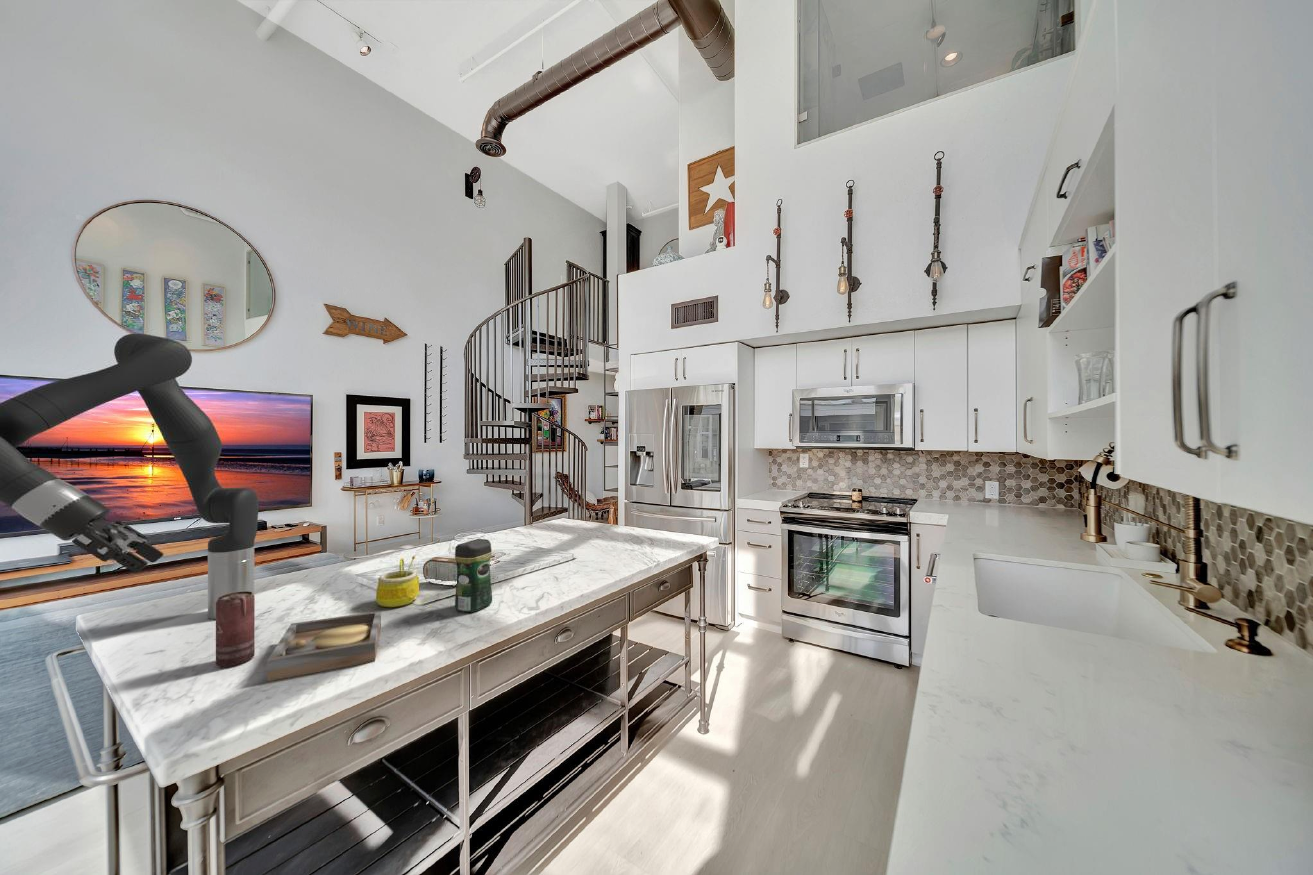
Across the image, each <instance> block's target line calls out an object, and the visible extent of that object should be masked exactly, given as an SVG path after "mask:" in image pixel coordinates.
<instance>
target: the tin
mask: <svg viewBox="0 0 1313 875" xmlns="http://www.w3.org/2000/svg"><path fill="white" fill-rule="evenodd" d="M422 573H423V577H424V579H425V580H426V579H435V580H441V581H455V582H456V581H457V563H456V560H455V557H454V558H452V557H451V558H450V557H442V556H441V557H440V556H435V557H432V558H430V559H428V560H427V561H426V562H424V563H423V566H422Z"/></svg>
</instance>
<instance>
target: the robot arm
mask: <svg viewBox="0 0 1313 875" xmlns="http://www.w3.org/2000/svg"><path fill="white" fill-rule="evenodd" d="M113 352H114V353H113V354H114V357H115V361H116V364H114V365H111V366H108V367H106V368H103V369H100V370H96V371H93V372H89V373H85V374H81V375H76V376H73V377H67V378H64V379H60V380H57V381H52V382H49V383H46V384H43V385H40V386H37V387H35V388H32V389H29V390H28V391H25V392H22V393H21V394H17V395H15V396H13V397H10V398H8V399H6V400H4V401H1V402H0V502H1V503H3V504H4V505H7V506H8V507H9V508H12V510H14V511H16V512H17V513H18V514H19V515H21V516H22V517H23V518H25V519H27V521H30V522H32V523H33V524H35V525H36V526H38V527H39V528H42V529H43V530H45V531H46V532H48V533H50V534H51V535H53V536H55V537H57V538H59V539H60V540H62V541H67V542H68V541H71V543H72V544H74V545H76V546H77V547H80V548H81V549H83V550H84V551H85V552H87V553H89V554H91V555H92V556H93V557H95V558H97V559H99V560H100V561H101V562H105V563H106V562H108V561H109V562H114V563H115V562H116V563H117V564H119V565H121V567H124V568H126V569H128V570H129V571H131V572H132V573H139V572H141V570H143V569H144V568H145V567H146V566H148V563H149V562H150V563H155V562H157V561H159V559H162V557H163V556H164V552H162V551H160V550H159V549H158V548H156V547H154V546H152V545H151V544H150V543H148V540H147V539H148V536H146V535H145V534H143V533H141V532H140V531H138V530H137V529H134V528H133V527H131V526H130V525H129V524H127V523H124V522H123V521H122V520H119V519H117V520H115V521H113V522H110V521H108V520H106V519H105V518H106V517H108V516H109V515H110V513H111V512H112V511H111V508H109V507H108V506H106V505H105V504H104V503H101V502H99V501H98V500H97V499H95V498H93V497H92V496H91V495H89V494H87V493H85V491H83V490H81V489H80V488H78V487H77V486H75V485H73V484H71V483H69V482H66V481H64V480H62V479H61V478H58V477H57V476H55V475H54V474H53V473H51V472H50V471H48V470H46V469H45V468H44V467H41V466H40V465H38V464H36V463H34V462H32V461H31V460H29V459H28V458H27V457H26V456H24V454H23V453H21V452H20V451H19V450H18V449H17V448H18V447H19V446H21V445H22V444H24V443H25V442H27V441H29V440H30V439H31V438H33V437H35V436H37V435H40V434H41V433H44V432H46V431H48V430H50V429H53V428H55V427H57V426H59V425H61V424H62V423H65V422H67V421H68V420H71V419H73V418H75V417H78V416H79V415H82V414H83V413H86V412H88V411H91V410H93V409H95V408H97V407H99V406H101V405H104V404H106V403H109V402H111V401H115V400H117V399H118V398H121V397H124V396H127V395H130V394H132V393H135V392H138V394H139V396H140V397H141V399H142V401H143V402H144V404H145V406H146V408H147V410H148V411H149V413H150V415H151V418H152V419H153V422H154V424H156V426H157V427H158V428H157V429H158V430H159V432H160V434H161V436H162V439H163V440H164V442H165V444H166V445H167V447H168V449H169V451H170V453H171V455H172V457H173V458H174V459H175V461H176V463H177V465H178V467H179V469H180V471H181V473H182V475H183V477H184V479H185V481H186V484H187V486H188V488H189V491H190V494H191V497H192V499H193V502H194V505H195V508H196V510H197V512H198V514H199V516H200V517H201V518H202V519H203V520H204V521H205V522H207V523H210V524H211V523H212V524H229V526H228V530H227V532H226V533H224V534H222V535H219V536H216V537H213V538H211V539H209V540H208V542H207V618H208V619H214V620H216V602H217V600H218V598H219V597H221V596H223V595H226V594H230V593H235V592H244V591H248V592H252V594H253V595H254V596H255V539H256V536H257V533H258V519H259V498H258V495H257V493H256V491H254V490H253V489H251V488H248V487H247V488H246V487H232V488H231V487H229V488H228V487H226V488H225V487H222V486H221V484H220V483H219V480H218V478H217V476H216V473H215V468H216V466H217V463H218V461H219V459H220V456H221V452H222V447H223V444H222V441H221V438H220V436H219V433H218V432H217V430H216V428H215V425H214V423H213V422H212V420H211V419H210V417H209V416H208V415H207V414H206V413H205V412H204V410H202V408H200V406H198V404H196V403H195V401H194V400H192V399H191V398H190V397H189V396H188V395H187V394H186V393H185V391H184V390H183V389H182V387H181V386H180V384H179V382H178V381H177V379H178V378H179V377H181V376H182V375H184V374H186V373H187V372H188V371H189V370H190V368H191V366H192V363H193V356H192V353H191V352H190V350H189V348H188V347H187V346H185V344H183V343H181V342H179V341H178V340H177V341H176V340H174V339H171V338H167V337H161V336H157V335H151V334H146V333H127V334H126V335H123V336H121V337H119V339H118V340H117V341H116V343H115V344H114V350H113ZM131 551H132V552H131ZM133 552H134V553H133ZM138 555H139V556H138ZM141 557H142V558H141ZM146 560H147V561H146Z"/></svg>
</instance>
